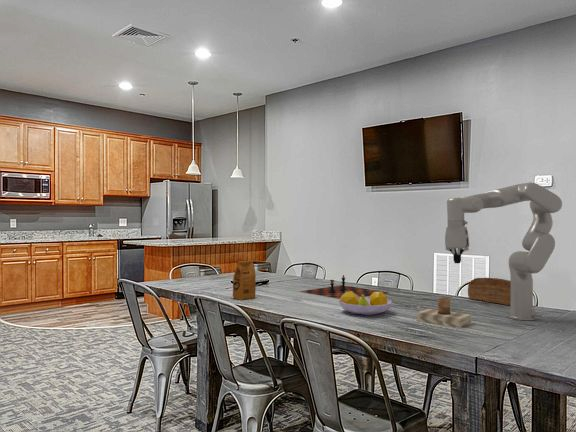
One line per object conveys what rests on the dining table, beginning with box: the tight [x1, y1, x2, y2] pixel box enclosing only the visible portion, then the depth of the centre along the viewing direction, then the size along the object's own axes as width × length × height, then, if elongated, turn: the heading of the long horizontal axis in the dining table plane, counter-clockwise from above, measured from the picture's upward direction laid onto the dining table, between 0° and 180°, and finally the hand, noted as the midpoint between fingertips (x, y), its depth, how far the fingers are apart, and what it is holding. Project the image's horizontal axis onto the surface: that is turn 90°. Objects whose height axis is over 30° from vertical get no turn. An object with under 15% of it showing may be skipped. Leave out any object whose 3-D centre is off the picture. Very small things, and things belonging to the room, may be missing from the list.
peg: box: [437, 296, 451, 315], centre depth 213 cm, size 5×5×11 cm
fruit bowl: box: [337, 291, 392, 316], centre depth 234 cm, size 28×27×11 cm
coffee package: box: [232, 260, 257, 301], centre depth 274 cm, size 10×12×22 cm
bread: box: [467, 277, 511, 306], centre depth 266 cm, size 12×31×14 cm, turn 35°
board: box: [416, 308, 472, 329], centre depth 213 cm, size 20×12×4 cm, turn 46°
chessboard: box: [299, 275, 389, 300], centre depth 299 cm, size 40×40×11 cm
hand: (457, 263), depth 220 cm, fingers closed
